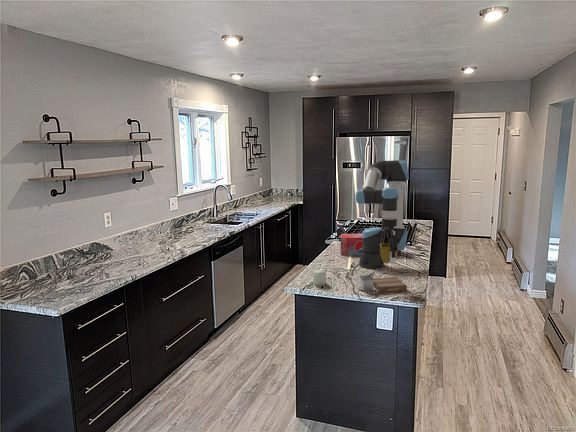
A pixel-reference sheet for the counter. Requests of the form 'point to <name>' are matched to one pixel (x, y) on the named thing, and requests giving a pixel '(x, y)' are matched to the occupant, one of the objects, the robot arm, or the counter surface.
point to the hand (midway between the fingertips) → (388, 260)
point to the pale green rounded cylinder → (319, 277)
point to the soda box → (353, 244)
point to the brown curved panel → (389, 285)
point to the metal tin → (366, 283)
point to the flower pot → (386, 252)
